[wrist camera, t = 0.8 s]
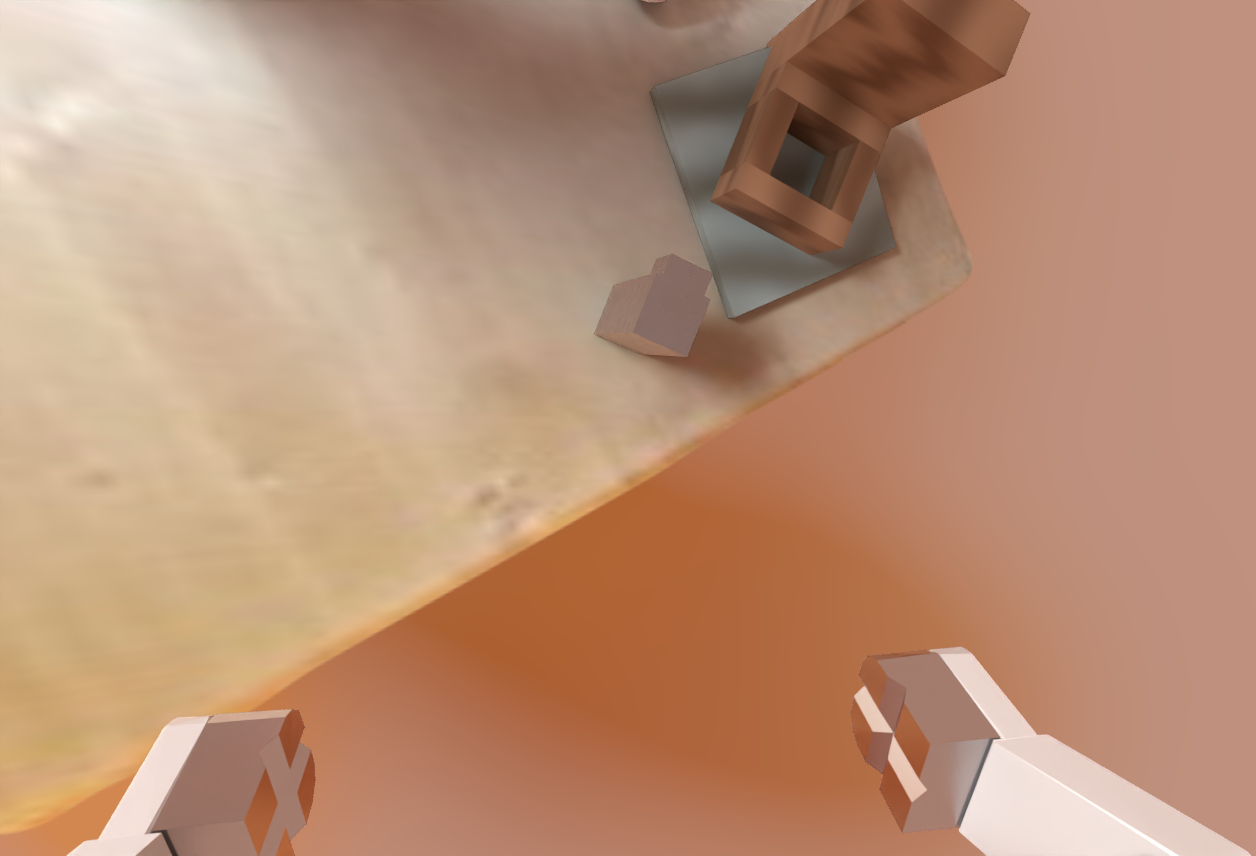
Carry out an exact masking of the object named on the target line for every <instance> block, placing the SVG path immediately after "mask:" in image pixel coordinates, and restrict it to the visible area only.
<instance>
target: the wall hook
mask: <svg viewBox="0 0 1256 856" xmlns="http://www.w3.org/2000/svg"><path fill="white" fill-rule="evenodd" d="M643 1H646V2H663V1H666V0H643Z"/></svg>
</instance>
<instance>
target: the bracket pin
mask: <svg viewBox="0 0 1256 856" xmlns="http://www.w3.org/2000/svg"><path fill="white" fill-rule="evenodd" d="M712 275H713V274H712V273H710V272H708V271H706V270H704V269H702V268H700V267H698V266H696V265H694V264H692V263H690V262H688V261H686V260H684V259H682V258H680V257H678V256H676V255H674V254H670V255H667V256H665V257H662V258H659V259H656V262H655V264H654V267H653V269H652V272H651V274H650V275H647V276H644V277H640V278H637V279H633V280H630V281H627V282H623V283H620V284H616V285H614V286H613V288H612V291H611V293H610V296H609V298H608V301H607V303H606V306H605V308H604V311H603V313H602V316H601V318H600V321H599V323H598V326H597V328H596V331H595V333H594V334H596V335H598V336H600V337H602V338H605V339H607V340H609V341H611V342H614V343H616V344H618V345H621V346H623V347H625V348H627V349H630V350H632V351H634V352H636V353H639V354H647V355H662V356H678V357H688V354H689V352H690V349H691V347H692V344H693V342H694V339H695V337H696V334H697V332H698V329H699V327H700V324H701V322H702V319H703V317H704V314H705V312H706V309H707V307H708V304H709V302H710V299H709V298H707V297H705V296H704V295H705V292H706V290H707V287H708V285H709V282H710V280H711V277H712Z"/></svg>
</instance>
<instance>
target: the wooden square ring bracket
mask: <svg viewBox="0 0 1256 856" xmlns="http://www.w3.org/2000/svg"><path fill="white" fill-rule="evenodd" d="M1029 16H1030V13H1029V12H1028V11H1027V10H1025V9H1024V8H1023V7H1021V6H1020V5H1019V4H1018V3H1017V2H1015V1H1014V0H816V1H815V2H814V3H813V4H812V5H811V6H809V7H808V8H807V9H806V10H805V11H804V12H803V13H801V14H800V15H799V16H798V17H797V18H796V19H795V20H793V21H792V22H791V23H790V24H789V25H788V26H787V27H785V28H784V29H783V30H782V31H781V32H780V33H779V34H777V35H776V36H775V37H774V38H773V39H772V40H771V41H769V43H768V45H767V48H765V49H762V50H759V51H756V52H753V53H750V54H747V55H744V56H741V57H738V58H735V59H732V60H729V61H726V62H724V63H721V64H718V65H715V66H712V67H709V68H706V69H703V70H700V71H697V72H694V73H691V74H688V75H685V76H682V77H679V78H676V79H673V80H671V81H668V82H665V83H662V84H659V85H656V86H654V87H653V88H652V89H651V91H650V94H651V97H652V100H653V103H654V106H655V109H656V112H657V115H658V117H659V120H660V123H661V126H662V129H663V132H664V135H665V138H666V141H667V143H668V146H669V149H670V152H671V155H672V158H673V161H674V164H675V167H676V169H677V172H678V175H679V178H680V181H681V184H682V187H683V190H684V193H685V195H686V198H687V201H688V204H689V207H690V210H691V213H692V216H693V219H694V221H695V224H696V227H697V230H698V233H699V236H700V239H701V242H702V244H703V247H704V250H705V253H706V256H707V259H708V262H709V265H710V268H711V270H712V273H713V276H714V279H715V282H716V285H717V288H718V291H719V294H720V296H721V299H722V302H723V305H724V308H725V311H726V314H727V317H728V318H735V317H737V316H739V315H742V314H744V313H746V312H748V311H751V310H753V309H755V308H758V307H760V306H762V305H764V304H767V303H769V302H771V301H774V300H776V299H778V298H781V297H783V296H785V295H787V294H790V293H792V292H794V291H797V290H799V289H801V288H803V287H806V286H808V285H810V284H813V283H815V282H817V281H819V280H822V279H824V278H826V277H829V276H831V275H833V274H835V273H838V272H840V271H842V270H845V269H847V268H849V267H851V266H854V265H856V264H858V263H861V262H863V261H865V260H867V259H870V258H872V257H874V256H877V255H879V254H881V253H884V252H886V251H888V250H890V249H893V248H895V247H896V245H895V242H894V238H893V235H892V231H891V227H890V224H889V220H888V216H887V213H886V209H885V206H884V202H883V198H882V195H881V191H880V188H879V184H878V180H877V177H876V173H875V170H874V169H875V167H876V164H877V162H878V159H879V157H880V154H881V152H882V149H883V147H884V144H885V142H886V139H887V137H888V134H889V132H890V129H891V128H892V127H895V126H897V125H899V124H901V123H903V122H905V121H908V120H910V119H912V118H914V117H916V116H919V115H921V114H923V113H925V112H927V111H929V110H932V109H934V108H936V107H938V106H940V105H943V104H945V103H947V102H949V101H951V100H954V99H956V98H958V97H960V96H962V95H965V94H967V93H969V92H971V91H973V90H975V89H978V88H980V87H982V86H984V85H986V84H989V83H991V82H993V81H995V80H997V79H1000V78H1002V77H1004V76H1005V75H1006V73H1007V70H1008V68H1009V65H1010V62H1011V60H1012V58H1013V55H1014V53H1015V50H1016V48H1017V45H1018V43H1019V41H1020V38H1021V36H1022V33H1023V31H1024V28H1025V26H1026V23H1027V21H1028V18H1029Z"/></svg>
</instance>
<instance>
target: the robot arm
mask: <svg viewBox="0 0 1256 856" xmlns="http://www.w3.org/2000/svg"><path fill="white" fill-rule="evenodd" d="M859 676H860V678H861V679H862V681H863V683H864V685H865V686H864V687H863V688H862V689H861V690H860V691H859V692H858V693H857V694H855V696H854V698H853V703H852V709H851V719H852V728H853V733H854V736H855V739H856V742H857V746H858V748H859V750H860V752H861V754H862V756H863V758H864V760H865V762H867V763H868V764H870V765H871V766H872V767H873V768H875V769H876V770H877V771H879V772H880V773H881V774H882V778H881V784H880V791H881V793H882V795H883V797H884V799H885V801H886V803H887V805H888V807H889V809H890V811H891V813H892V815H893V816H894V818H895V820H896V822H897V824H898V826H899V828H900V830H901V832H902V833H910V832H921V831H931V830H942V829H952V828H960V829H959V832H960V833H961V834H962V835H964V836H965V837H966V838H967V839H968V840H969V841H970V842H972V843H973V844H974V845H975V846H976V847H977V848H978V849H980V850H981V851H982V852H983V853H984V854H985V855H986V856H1251V855H1250V854H1249V853H1248V852H1247V851H1246V850H1244V849H1242V848H1240V847H1239V846H1237V845H1235V844H1234V843H1232V842H1230V841H1229V840H1227V839H1225V838H1224V837H1222V836H1220V835H1218V834H1217V833H1215V832H1213V831H1211V830H1210V829H1208V828H1206V827H1205V826H1203V825H1201V824H1200V823H1198V822H1196V821H1195V820H1193V819H1191V818H1189V817H1188V816H1186V815H1184V814H1182V813H1181V812H1179V811H1178V810H1176V809H1174V808H1172V807H1171V806H1169V805H1167V804H1166V803H1164V802H1162V801H1160V800H1158V799H1157V798H1155V797H1154V796H1152V795H1150V794H1148V793H1147V792H1145V791H1143V790H1142V789H1140V788H1138V787H1137V786H1135V785H1133V784H1131V783H1130V782H1128V781H1126V780H1125V779H1123V778H1121V777H1120V776H1118V775H1116V774H1114V773H1113V772H1111V771H1109V770H1107V769H1106V768H1104V767H1102V766H1101V765H1099V764H1097V763H1096V762H1094V761H1092V760H1090V759H1089V758H1087V757H1085V756H1084V755H1082V754H1080V753H1079V752H1077V751H1075V750H1073V749H1072V748H1070V747H1068V746H1067V745H1065V744H1063V743H1062V742H1060V741H1058V740H1056V739H1055V738H1053V737H1051V736H1050V735H1048V734H1043V735H1037V734H1036V732H1035V731H1034V730H1033V729H1032V727H1031V726H1030V725H1029V724H1028V723H1027V721H1026V720H1025V719H1024V718H1023V716H1022V715H1021V714H1020V713H1019V711H1018V710H1017V709H1016V708H1015V707H1014V705H1013V704H1012V703H1011V702H1010V700H1009V699H1008V698H1007V697H1006V695H1005V694H1004V693H1003V692H1002V690H1001V689H1000V688H999V687H998V685H997V684H996V683H995V682H994V680H993V679H992V678H991V677H990V676H989V674H988V673H987V672H986V671H985V669H984V668H983V667H982V666H981V664H980V663H979V662H978V661H977V659H976V658H975V657H974V656H973V655H972V653H971V652H970V651H968V650H966V649H965V648H963V647H953V648H943V649H933V650H929V651H928V650H919V651H911V652H901V653H891V654H881V655H872V656H867V657H866V658H865V659H864V661H863V662H862V664H861V668H860V672H859ZM304 728H305V726H304V724H303V721H302V718H301V715H300V712H299V710H294V709H288V710H273V711H258V712H242V713H227V714H216V715H205V716H191V717H177V718H175V719H173V720H172V721H171V722H170V723H169V724H168V725H166V726H165V727H164V728H163V730H162V731H161V733H160V735H159V736H158V738H157V740H156V742H155V743H154V745H153V747H152V748H151V750H150V752H149V754H148V755H147V757H146V759H145V760H144V762H143V764H142V765H141V767H140V769H139V771H138V772H137V774H136V776H135V777H134V779H133V781H132V782H131V784H130V786H129V788H128V789H127V791H126V793H125V795H124V796H123V798H122V800H121V801H120V803H119V805H118V807H117V808H116V810H115V812H114V813H113V815H112V817H111V818H110V820H109V822H108V823H107V825H106V827H105V829H104V831H103V832H102V834H101V835H100V837H99V839H95V840H88V841H84V842H83V843H82V844H80V845H79V846H78V847H77V848H75V849H74V850H73V851H72V852H70V853H69V854H68V855H67V856H295V854H294V851H293V848H292V845H291V842H290V841H291V839H293V837H295V836H296V834H297V833H298V832H299V831H300V830H301V829H302V828H303V827H304V826H305V825H306V824H307V820H308V817H309V813H310V810H311V806H312V802H313V795H314V787H315V764H314V759H313V755H312V752H311V750H310V749H309V748H308V747H306V746H305V745H303V744H302V743H300V739H301V736H302V734H303V730H304Z"/></svg>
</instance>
